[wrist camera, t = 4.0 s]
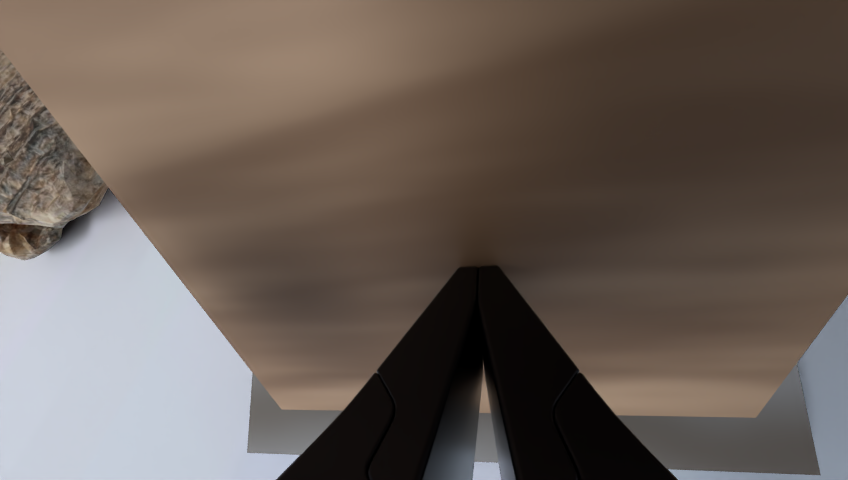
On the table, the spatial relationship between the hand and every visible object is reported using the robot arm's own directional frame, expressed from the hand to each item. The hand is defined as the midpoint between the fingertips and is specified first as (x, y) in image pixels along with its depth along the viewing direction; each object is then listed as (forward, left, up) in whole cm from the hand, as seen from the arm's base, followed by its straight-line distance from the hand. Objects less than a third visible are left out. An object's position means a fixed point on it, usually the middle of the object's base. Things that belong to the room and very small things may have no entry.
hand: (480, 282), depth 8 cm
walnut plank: (-2, +2, -5) cm, 6 cm away
